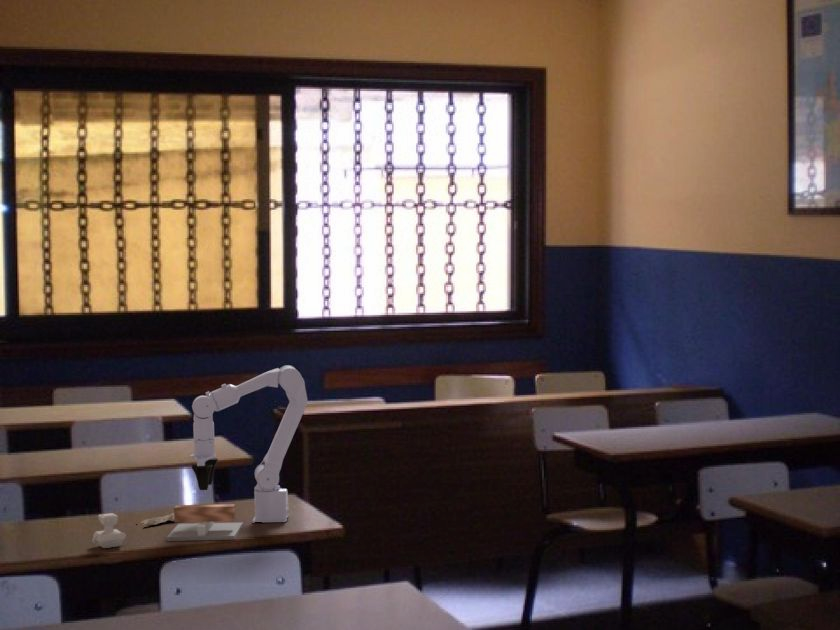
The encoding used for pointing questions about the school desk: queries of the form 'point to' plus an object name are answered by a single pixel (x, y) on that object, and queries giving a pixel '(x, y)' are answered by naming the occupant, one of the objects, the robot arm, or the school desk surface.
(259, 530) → the school desk surface
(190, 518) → the stick
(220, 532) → the board
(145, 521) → the stone fragment
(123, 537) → the stamp
